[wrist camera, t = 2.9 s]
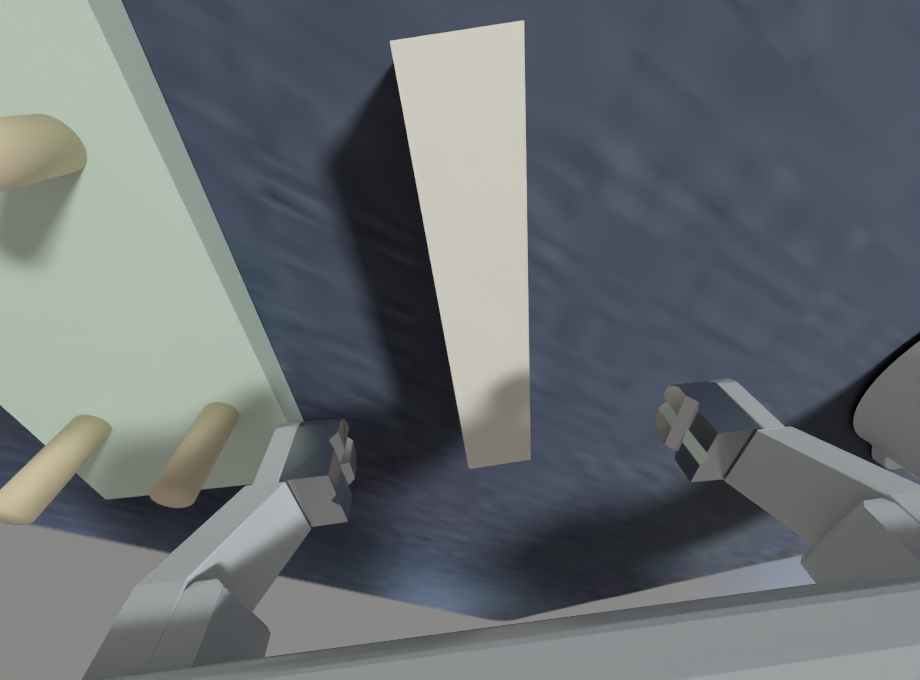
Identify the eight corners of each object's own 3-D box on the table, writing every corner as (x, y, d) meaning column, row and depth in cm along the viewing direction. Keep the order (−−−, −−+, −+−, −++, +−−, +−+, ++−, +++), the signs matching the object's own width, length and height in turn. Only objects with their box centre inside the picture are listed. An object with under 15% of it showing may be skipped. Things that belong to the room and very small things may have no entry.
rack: (-484, -132, 8) (-1716, -421, 4) (59, -144, 9) (-362, -405, 4) (122, 476, 22) (40, 586, 18) (319, 456, 23) (292, 557, 18)
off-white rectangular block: (399, 53, 12) (389, 40, 8) (488, 40, 12) (524, 20, 8) (459, 395, 21) (468, 468, 17) (509, 387, 21) (530, 459, 17)
